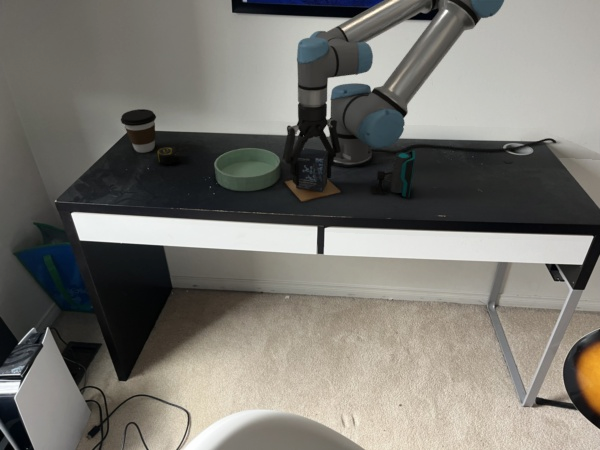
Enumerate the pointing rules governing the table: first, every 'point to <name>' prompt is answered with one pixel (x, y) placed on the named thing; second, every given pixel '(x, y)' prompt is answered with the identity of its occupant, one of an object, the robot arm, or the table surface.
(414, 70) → the robot arm
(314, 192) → the mat
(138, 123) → the coffee cup
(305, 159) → the box
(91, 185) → the table surface
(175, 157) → the tape measure
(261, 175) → the bowl
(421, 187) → the table surface
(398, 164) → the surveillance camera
